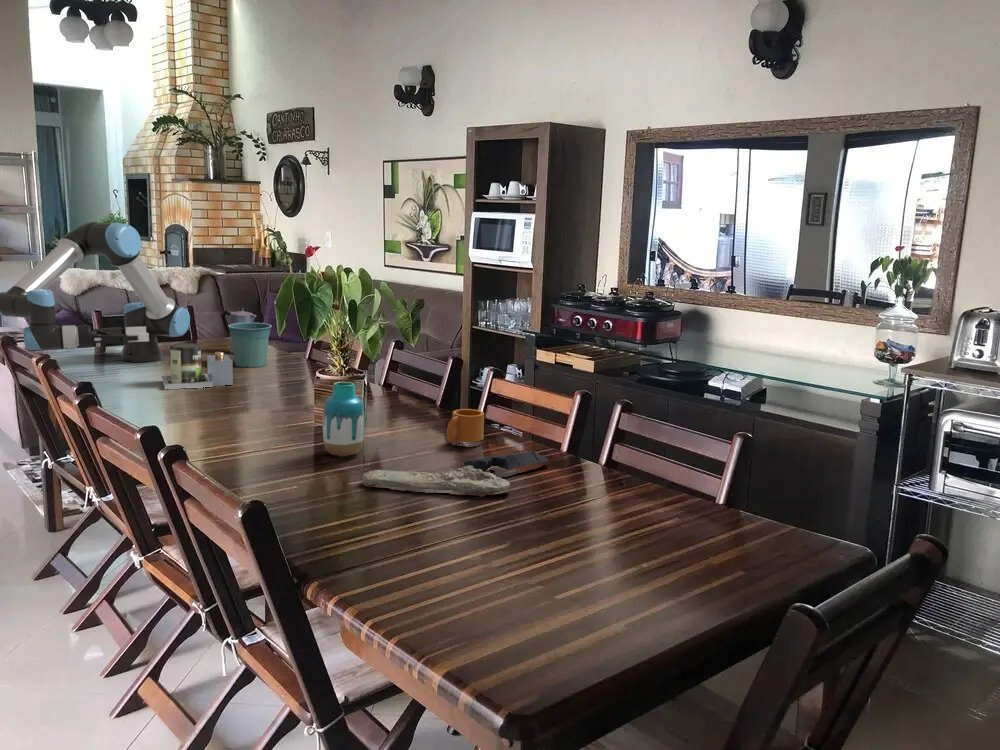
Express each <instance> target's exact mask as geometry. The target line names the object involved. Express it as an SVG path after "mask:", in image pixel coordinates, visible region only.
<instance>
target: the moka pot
mask: <svg viewBox="0 0 1000 750" xmlns="http://www.w3.org/2000/svg"><path fill="white" fill-rule="evenodd" d="M226 315H227V316H228V317H230V322H231V324H235V323H254V320H255V319H256V317H257V315H256V314H253V312H248V311H245V310H244V307H243V306H240V307H239V310H237V311H228V310H225V311H224V312H223V313H222V314H221V320H222V322H223V323H222V324H223V326H224V330H225V332H226V333H230V334H231V332H230V329H229V327H228V325H227V321H226V318H225V316H226ZM229 353H230V354H233V355H234V351H233V342H232V341H231V343H230V349H229Z"/></svg>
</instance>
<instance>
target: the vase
mask: <svg viewBox="0 0 1000 750" xmlns="http://www.w3.org/2000/svg"><path fill="white" fill-rule="evenodd" d="M355 391H356V389H355V383H354V382H351V381H338V382H334V383H333V384H332V393H331V396H330V397H328V398H326V400H325V401H324V405H323V411H322V412H323V413H322V437H323V439H322V440H323V445H324V448H325V449H326V451H327V452H328V453H329V454H331V455H333V456H335V455H337V456H336V457H349V456H348V455H351V456H354V455H356V454H358V453H359V452H360V451H361V449H362V447H363V445H364V436H365V408H364V402H363V401H362V400H361V398H359V397H358V396H357V394H356V392H355ZM353 454H354V455H353Z"/></svg>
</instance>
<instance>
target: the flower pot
mask: <svg viewBox="0 0 1000 750" xmlns="http://www.w3.org/2000/svg"><path fill="white" fill-rule="evenodd" d="M271 328H272V325H271V324H269V323H264V322H262V323H261V322H253V323H235V324H228V329H229V330H230V332H231V333H230V336H231V342H233V351H234V354H233V357H234V365H235V367H238V368H246V367H248V368H249V369H251V368H252V367H257V368H262V367H265V366H266V365H267V364H268V363H267V362H268V348H269V337H270V335H271Z"/></svg>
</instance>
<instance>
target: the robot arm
mask: <svg viewBox="0 0 1000 750" xmlns="http://www.w3.org/2000/svg"><path fill="white" fill-rule="evenodd" d="M141 240H142V239H141V235H140V234H139V233H138V230H137V229H135V227H133V226H131V225H130V224H126V223H123V222H122V223H121V222H102V221H101V222H100V221H99V222H98V221H90V222H85V223H83V224H80V225H79V226H76V227H75V228H73V229H72V230H70V231H68V232H67V233H66V234H65V235H64V236H62V237H61V238H60V239H59V240H58V242H57V246H56V247H54V249H53V250H51V251H50V252H49V253H48V254H47V255H46V256H44V258H42V259H41V260H40V261H39V262H38V263H37V264H36V265H35V266H34V267H33V268H31V269H30V270H28V272H27V273H25V275H24V276H22V277H21V278H20V279H19V280H18V281H17V282H16V283H15V284H14V285H13V286H11V287H10V288H9V289H8V290H7V291H5V292H4V291H2V292H0V316H2V317H12V318H13V317H14V318H26V319H29V326H26V327H24V328H23V334H22V335H23V343H24V347H25V349H27V350H29V351H30V350H31V351H33V350H34V351H35V350H37V351H38V350H40V351H43V350H44V351H45V350H46V351H47V350H58V349H59V350H60V349H66V350H67V351H68V350H69V351H71V349H77V348H78V347H79V348H81V349H85V348H86V349H87V348H91V347H92V345H93V343H92V342H94V344H121V345H122V344H123V347H122V350H121V354H120V358H121V359H122V360H121V359H120V360H121V361H123V360H124V362H129V361H132V362H133V363H144V362H145V363H147V362H155V361H159V360H162V359H163V353H162V349H161V348H160V345H159V342H158V339H157V336H163V337H170V338H171V337H172V338H174V337H175V338H176V337H181V336H184V335H185V334H186V333H187V331H188V330H189V327H190V323H191V315H190V313H189V311H188V309H186V307H185V308H184V307H183V306H182V307H181V306H178V305H177V303H176V302H175V300H174V299H173V298H171V297H168V296H167V295H166V294H165V292H164V291H163V289H162V288H161V286H160V285H159V283H158V282H157V280H156V279H155V277H154V276H153V274H152V272H151V270H150V269H149V268H148V266H147V265H146V262H145V261H144V260H143V259H142V256H141V249H142V242H141ZM94 255H95V256H104V257H105V258H106V259H107V262H109V264H110V265H111V266H113V267H117V268H118V269H119V271H120V273H121V274H122V275H123V277H124V278H125V279H126V281H127V282H128V283H129V285H130V287H131V288H132V290H133V291H134V292H135V294H136V295H137V297H138V298H139V299H140V301H141V302H130V303H126V304H125V305H124V306H123V323H124V324H122V325H120V326H115V327H114V326H113V327H106V328H93V330H92V329H91V325H90V324H80V325H77V326H76V325H75V324H72V325H71V324H70V325H57V319H56V318H57V317H56V301H55V297H54V292H53V291H52V290H51V289H48V288H49V287H50V286H51V285H52V284H53V283H54V282H56V280H58V279H59V278H60V276H62V275H63V274H64V273H65V272H66V271H67V270H68V269H69V268H70V267H72V266H73V265H74V264H75V263H76V262H81V261H83V259H85V258H86V257H89V256H94ZM132 362H131V363H132Z"/></svg>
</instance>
